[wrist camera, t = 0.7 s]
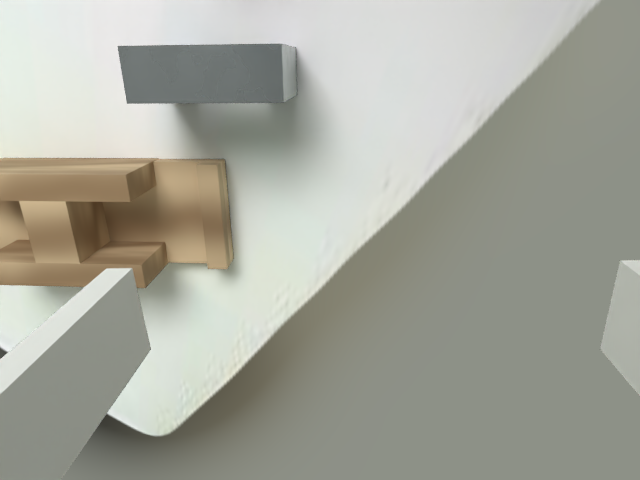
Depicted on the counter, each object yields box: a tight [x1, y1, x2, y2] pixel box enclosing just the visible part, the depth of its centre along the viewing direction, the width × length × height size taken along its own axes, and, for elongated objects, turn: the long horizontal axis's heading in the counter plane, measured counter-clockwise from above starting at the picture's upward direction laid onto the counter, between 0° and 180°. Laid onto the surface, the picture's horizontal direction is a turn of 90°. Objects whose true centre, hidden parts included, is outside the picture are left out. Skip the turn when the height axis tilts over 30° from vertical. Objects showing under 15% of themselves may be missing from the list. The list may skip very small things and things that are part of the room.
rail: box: [0, 158, 234, 288], centre depth 33 cm, size 8×22×5 cm, turn 91°
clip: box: [118, 44, 297, 104], centre depth 28 cm, size 3×9×6 cm, turn 91°
